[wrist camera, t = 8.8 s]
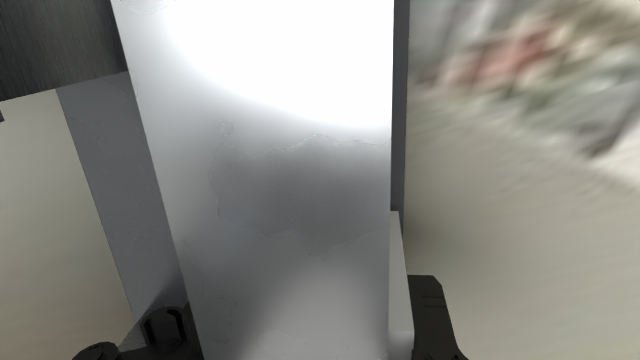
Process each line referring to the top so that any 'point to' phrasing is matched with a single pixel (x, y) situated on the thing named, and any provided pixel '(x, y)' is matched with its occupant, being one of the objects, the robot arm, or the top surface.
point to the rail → (272, 167)
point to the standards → (98, 135)
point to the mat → (399, 104)
